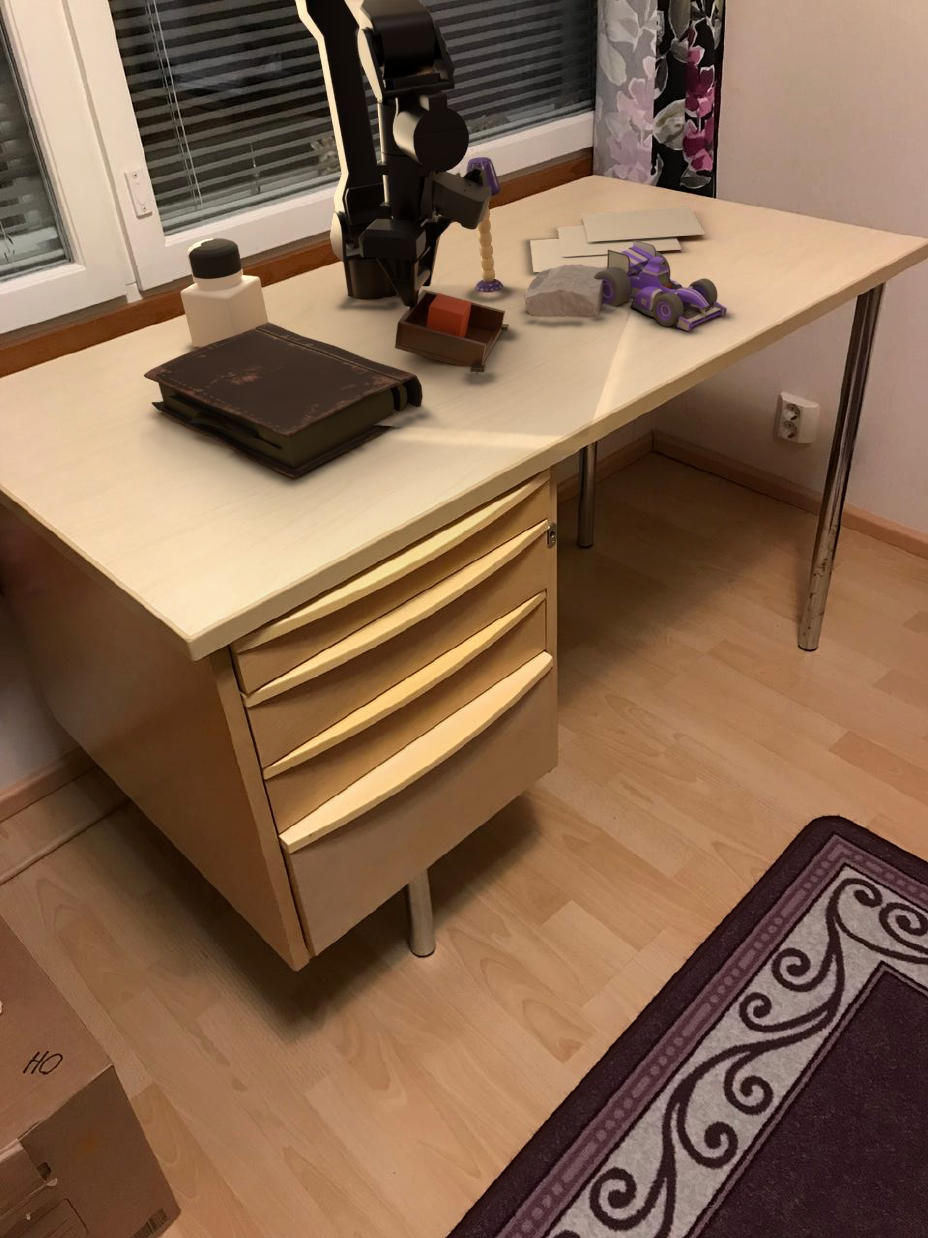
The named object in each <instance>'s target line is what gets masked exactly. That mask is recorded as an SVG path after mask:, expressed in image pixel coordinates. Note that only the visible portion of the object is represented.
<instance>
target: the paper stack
mask: <svg viewBox="0 0 928 1238" xmlns="http://www.w3.org/2000/svg"><path fill="white" fill-rule="evenodd" d="M580 216H581V220H582V223H583V225H582V224H581V225H565V226H557V227H556V230H557V234H558V238H547V239H545V238H544V239H531V240H529V244H530V253H531V262H532V263H531V264H532V271H533V273H540V272H542V271H544V270H548V269H549V268H556V267H559V266H562V265H571V264H574V265H578V264H582V265H585V266H594V267H604V266H607V259H608V249H609V250H612V251H616V252H622V251H625V250H627V249H629V248H630V247H633V240H636V241H640V242H643V243H647V244H651V245H653V246H654V247H655V249H656V252H665V251H679V250H682V246H681V245H680V242H679V240H678V238H677V237H685V236H701V235H706V233H705V231H704V229H703V227H702V226H701V224H700V222H699V220H698V219H697V217H696V215H695V213H694V211H693V210H692V208H691V206H689V205H688V206H687V205H686V206H673V207H671V206H670V207H658V208H644V209H643V208H642V209H628V210H614V211H613V210H612V211H611V210H610V211H599V212H583V213H580Z"/></svg>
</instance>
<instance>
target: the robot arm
mask: <svg viewBox="0 0 928 1238" xmlns="http://www.w3.org/2000/svg"><path fill="white" fill-rule="evenodd" d="M295 3H296V8H297V13H298V17H299V19H300V21H301V22H302V23H303V24H304V26H305V27H306V28H307V30H308V31H309V32H310V33H311V35H312V36H313V37H314V38H315V40H316V41H317V45H318V51H319V58H320V63H321V68H322V73H323V78H324V85H325V89H326V95H327V100H328V101H327V102H328V106H329V111H330V116H331V121H332V127H333V133H334V138H335V143H336V149H337V155H338V159H339V165H340V170H341V171H340V172H341V175H340V177H339V181H338V184H337V187H336V190H335V193H334V196H333V203H334V209H335V210H334V211H335V212H334V213H333V215H332V221H331V228H330V234H329V240H330V245H331V248H332V249H331V250H332V253H333V254H334V256H336V257H337V259H338V260H340V262H342V263H343V270H344V277H345V283H346V284H345V285H346V290H347V296H348V297H354V298H355V299H358V300H362V301H363V300H364V301H373V300H381V299H384V298H393V297H399V298H400V300H401V302H402V304H403V306H404V307H408V308H409V307H413V306H414V305H415V298H416V287H417V274H418V267H419V266H420V265H426V266H428V267H429V269H430V271H431V274H430V276H429V278H428V279H427V280H426V281H425V283H424V284H423V285H422V286H421V287H430V286H431V284H432V280H433V274H434V270H435V265H436V260H437V259H436V258H437V254H438V249H439V244H440V239H441V236H442V235H443V234H444V232H445V231H446V230H448V228H449V227H450V226H451V225H452V223H453V222H455V223H457V224H460V226H461V227H462V228H465V229H467V230H471V231H472V230H477V229H478V224H479V223H480V222H481V221H482V220H483V218H484V215H485V212H486V209H487V205H488V202H489V203H490V201H491V199H492V197H491V193H492V192H491V188H492V187H490V186H488V184H487V176H486V171H485V170H483V169H481V168H478V167H476V166H473V167H472V168H471V169H470V170H469V171H468V172H467V173H466V172H465V174H464V175H463V176H461V175H462V174H461V173H460V172H457V173H455V174H454V173H451V172H449V171H450V170H453V169H454V168H456V167H457V166H458V165H459V164H460V163H461V162H462V161H463V160H464V158H465V156H466V154H467V152H468V149H469V144H470V132H469V128H468V127H467V124H466V121H465V120H464V118H463V117H462V115H460V114H459V113H458V111H456V110H454V109H452V108H451V107H449V105H448V95H447V93H446V91H451V90H455V89H456V85H455V79H454V75H455V70H456V69H455V66H454V65H455V64H454V63H453V60H452V58H451V55H450V52H449V49H448V46H447V43H446V40H445V37H444V35H443V33H442V31H441V29H440V26H439V24H438V22H437V20H435V19H434V18H433V15H432V13H431V12H430V11H429V10H428V8H427V7H425V6H424V5H423V4H422V2H421V1H420V0H295ZM358 26H359V29H358ZM357 30H358V32H357ZM356 32H357V35H356ZM362 67H363V70H364V72H365V75H366V78H367V80H368V81H369V84H370V87H371V89H372V91H373V93H374V97H375V98H376V100H377V114H378V127H379V128H378V129H379V139H380V140H379V141H380V153H381V160H380V161H378V159H377V153H376V147H375V142H374V135H373V129H372V124H371V123H372V122H371V117H370V112H369V106H368V99H367V94H366V88H365V81H364V76H363V71H362ZM433 68H434V69H433ZM434 70H435V72H433V71H434ZM488 206H489V205H488Z"/></svg>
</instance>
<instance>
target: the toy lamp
mask: <svg viewBox="0 0 928 1238" xmlns="http://www.w3.org/2000/svg"><path fill="white" fill-rule="evenodd" d="M466 163H467V164H466V169H465V174H466V173H467V172H468V171H469V170H470V169H471V168H472V167H473V166H476V167H478V168H481V169H483V170H485V171H486V176H487V184H488V186H490V187H492V188H491V192H492V193H491V198H492V197H495V196H497V195H499V194H500V192H501V185H500V182H499V179H498V176H497V173H496V170H495V166H494V163H493V161H492V159H491V158H489V157H487V156H480V157H479V156H478V157H474V158H471V159H469V160H467V162H466ZM489 205H490V201H489V202H488V205H487V209H486V212H485V215H484V218H483V220H482V221H481V222H480V223H479V224H478V226H477V230H478V243H479V245H480V246H479V254H480V257H481V259H480V266H481V268H482V271H481V276H482V279H481V280H479V281H478V282H477V283H476V284H475V286H474V290H475V291H476V292H481V293H494V292H498V291H501V290H503V288H504V287H505V286H504V283H503V282H501V280H499V279H497V278H496V273H495V272H496V271H495V269H494V267H495V260H494V257H493V254H494V248H493V245H492V242H493V237H492V233H491V229H492V225H491V221H490V217H491V210H490V208H489Z"/></svg>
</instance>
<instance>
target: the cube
mask: <svg viewBox="0 0 928 1238" xmlns="http://www.w3.org/2000/svg"><path fill="white" fill-rule="evenodd" d="M472 302H473V301H470V300H466V299H462V298H458V297H455V296H451V295H449V294H448V295H447V294H443V293H440V292H439V294H438V295H437V296H436V298H435V299H434V300H433V302H432V303H431V305H430V306H429V312H428V319H427V326H426V328H430V329H433V330H437V331H441V332H445V333H448V334H452V335H456V336H459V337H463V338H464V336H465V335H466V332H467V326H468V321H469V315H470V309H471V303H472Z"/></svg>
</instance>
